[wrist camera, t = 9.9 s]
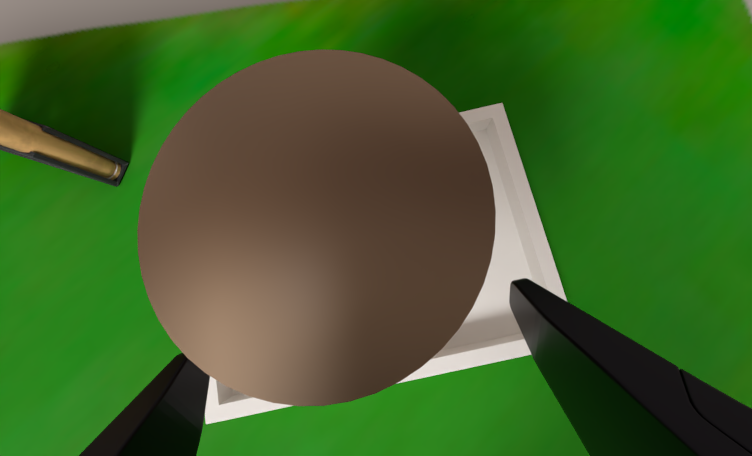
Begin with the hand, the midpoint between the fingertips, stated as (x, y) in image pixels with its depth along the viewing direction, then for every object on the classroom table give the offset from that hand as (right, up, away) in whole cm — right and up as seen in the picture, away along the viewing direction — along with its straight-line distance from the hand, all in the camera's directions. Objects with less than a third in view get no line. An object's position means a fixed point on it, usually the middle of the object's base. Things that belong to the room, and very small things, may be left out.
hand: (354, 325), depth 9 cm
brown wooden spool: (0, +1, +10) cm, 10 cm away
